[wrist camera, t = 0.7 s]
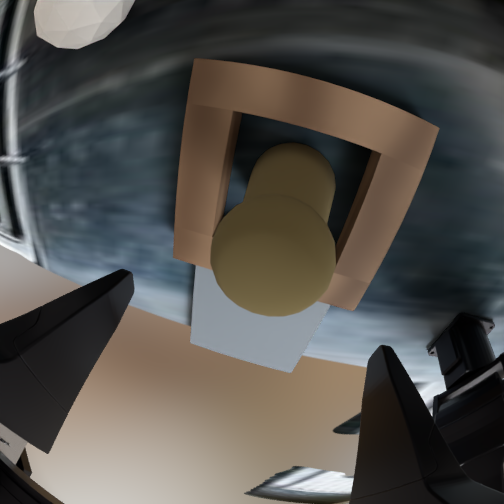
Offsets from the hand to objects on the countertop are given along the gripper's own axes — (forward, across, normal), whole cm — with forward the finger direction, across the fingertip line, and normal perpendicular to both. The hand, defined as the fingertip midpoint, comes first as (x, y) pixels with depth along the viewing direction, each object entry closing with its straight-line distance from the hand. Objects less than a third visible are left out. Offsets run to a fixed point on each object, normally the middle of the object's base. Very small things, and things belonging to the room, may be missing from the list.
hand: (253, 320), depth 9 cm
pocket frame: (+13, 0, 0) cm, 13 cm away
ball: (+13, +17, -13) cm, 25 cm away
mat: (+13, 0, +14) cm, 19 cm away
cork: (+13, 0, 0) cm, 13 cm away
